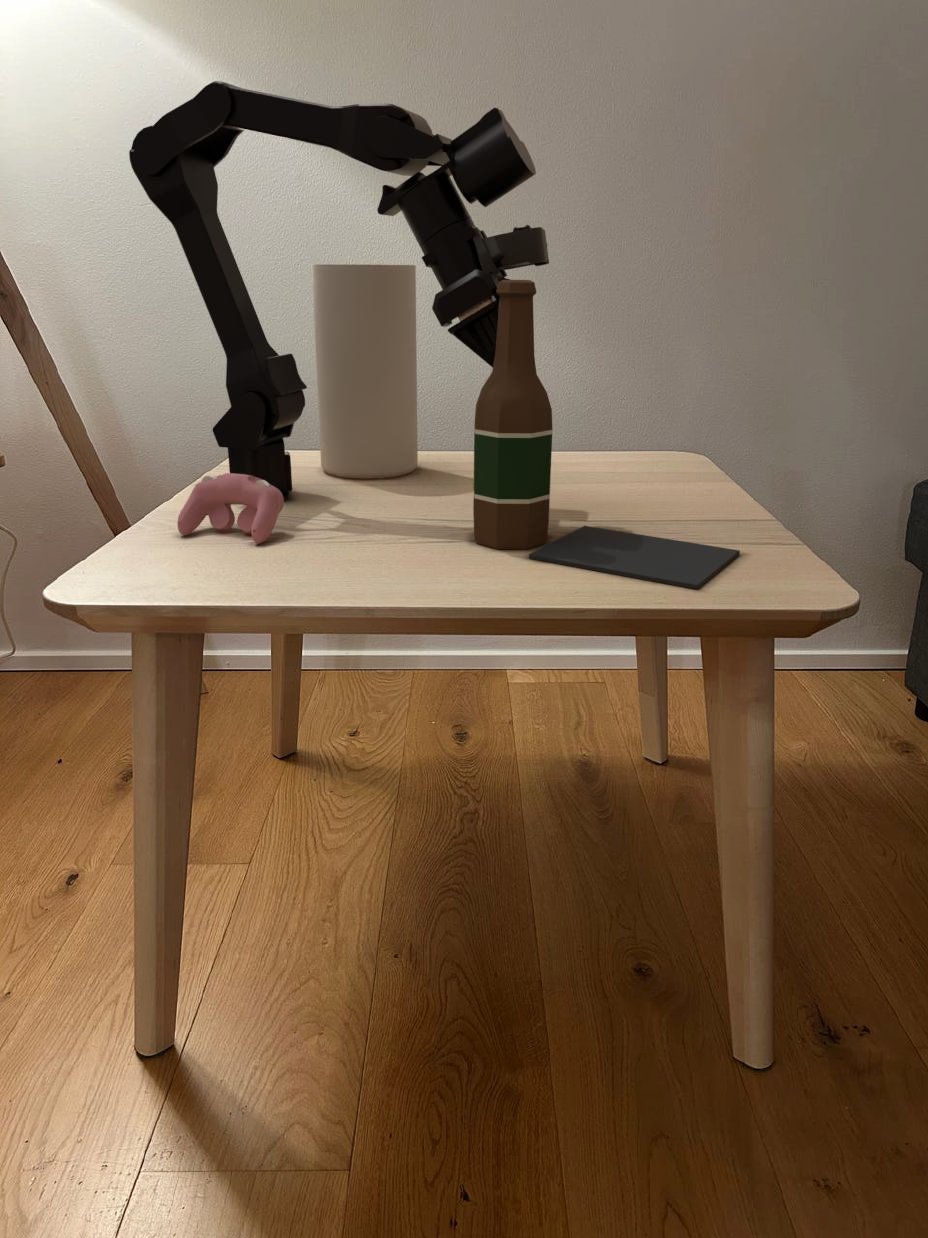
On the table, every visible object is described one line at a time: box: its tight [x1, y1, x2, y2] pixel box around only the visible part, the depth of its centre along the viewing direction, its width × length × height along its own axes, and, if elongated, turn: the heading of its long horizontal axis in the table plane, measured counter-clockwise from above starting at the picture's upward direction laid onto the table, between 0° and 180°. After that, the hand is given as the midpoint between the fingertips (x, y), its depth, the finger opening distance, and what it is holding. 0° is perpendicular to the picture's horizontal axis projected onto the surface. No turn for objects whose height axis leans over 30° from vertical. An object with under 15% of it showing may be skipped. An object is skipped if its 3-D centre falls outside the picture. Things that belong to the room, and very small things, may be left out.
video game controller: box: [176, 472, 285, 545], centre depth 93 cm, size 10×5×7 cm, turn 71°
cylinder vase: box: [310, 263, 419, 480], centre depth 118 cm, size 12×12×25 cm
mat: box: [528, 525, 741, 590], centre depth 87 cm, size 16×12×1 cm
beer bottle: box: [472, 279, 553, 550], centre depth 88 cm, size 8×8×24 cm
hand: (520, 376), depth 95 cm, fingers open, 9 cm apart
